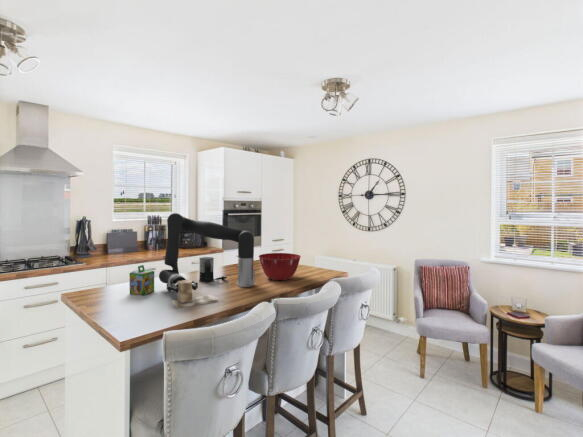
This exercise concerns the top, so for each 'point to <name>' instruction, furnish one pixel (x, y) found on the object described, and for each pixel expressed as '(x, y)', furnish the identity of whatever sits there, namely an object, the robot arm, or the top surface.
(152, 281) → the green patterned box
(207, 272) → the milk frother
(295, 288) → the top surface
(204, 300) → the board
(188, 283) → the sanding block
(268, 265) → the mixing bowl
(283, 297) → the top surface
